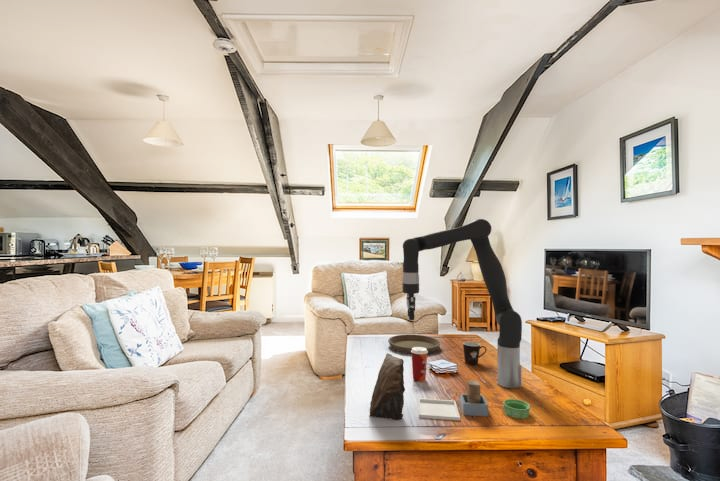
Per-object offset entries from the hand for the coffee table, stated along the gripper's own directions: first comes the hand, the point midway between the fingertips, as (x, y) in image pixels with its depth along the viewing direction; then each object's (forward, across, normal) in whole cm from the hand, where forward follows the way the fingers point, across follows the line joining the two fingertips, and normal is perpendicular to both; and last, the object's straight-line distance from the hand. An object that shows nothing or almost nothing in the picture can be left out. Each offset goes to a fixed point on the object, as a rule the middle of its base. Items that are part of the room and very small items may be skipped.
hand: (410, 318), depth 167 cm
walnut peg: (+28, -30, -20) cm, 46 cm away
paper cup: (+28, +2, -4) cm, 29 cm away
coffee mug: (+29, +28, -35) cm, 53 cm away
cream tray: (+28, -31, -7) cm, 43 cm away
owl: (+28, -33, +12) cm, 45 cm away
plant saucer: (+29, +55, -6) cm, 62 cm away
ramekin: (+29, -32, -35) cm, 56 cm away
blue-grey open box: (+28, -30, -20) cm, 46 cm away
